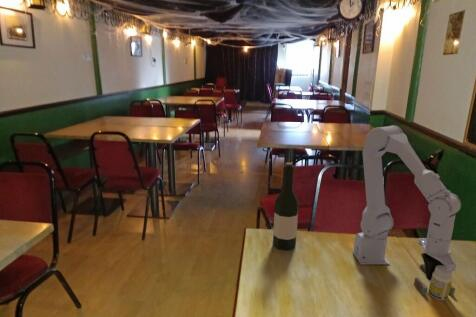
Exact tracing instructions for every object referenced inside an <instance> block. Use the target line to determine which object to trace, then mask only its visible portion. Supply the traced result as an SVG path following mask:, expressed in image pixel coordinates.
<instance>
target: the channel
mask: <svg viewBox="0 0 476 317" xmlns="http://www.w3.org/2000/svg"><path fill="white" fill-rule="evenodd" d="M413 285H414V287H415V288H416V289H417V290H418V291H419V293H420V294H421V295H422V296H424V297H425V296H427V293H428V290H429V289H428V288H429V287H427V285H425V283H424V282H423V281H422V280H421V279H420V278H419V277H414V282H413ZM455 292H456V287H455V286H454V285H453V284H451V288H450V292H449V295H450V296H452V297H453V296H455Z"/></svg>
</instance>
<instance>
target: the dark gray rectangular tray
mask: <svg viewBox="0 0 476 317" xmlns="http://www.w3.org/2000/svg"><path fill="white" fill-rule="evenodd" d="M419 269H420V270H421V271H423V273H424V274H426V270H425V264H424V263H422V264H420V265H419Z"/></svg>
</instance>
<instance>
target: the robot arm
mask: <svg viewBox="0 0 476 317" xmlns="http://www.w3.org/2000/svg"><path fill="white" fill-rule="evenodd" d="M386 152H388V153H392V154H396V155H398V157H399V158H400V159H401V161H402V162H403V163H404V164H405V166H406V167H407V168H408V169H409V170H410V171H411V174H413V176H414V180H413V182H414V184H415V186H416V187H417V189H419V191H420V192H421V194H422V195H423V196H424V198H425V199H426V201H427V202H428V203H429V204H428V205H427V206H428V207H427V209H428V211H429V213H430V218H429V222H428V223H429V224H428V229H427V234H426V235H427V236H426V237H425V238H424V237H423V238H422V237H418V243H417V244H418V245H419V246H422V247H421V248H422V249H423V252H421V255H420V256H421V257H422V260H423V264H425V270H426V273H425V277H426V279H427V280H428V281H430V282H431V278H432V274H433V272H434V271H435V268H436V266H437V265H443V266H445V267H446V270H447V271H452V272H455V271H456V269H457V268H456V267H457V264H456V263H455V261H454V260H453V258H452V256H451V255H452V253H453V252H452V250H450V245H451V240H452V235H453V230H454V226H455V219H456V213H458V212H459V211H460V210H461V207H462V202H461V200H460V198H459V196H458V194H455V193H452V192H451V190H449V189H447V187H446V186H445V185H444V184H443V182H442V181H441V179H440V178H441V176H440V175H439V174H438V173H435V171H433V170H429V169H427V168H426V167H425V165H424V164H423V162H422V161H421V159H420V158H419V156H418V155H417V153H416V151H415V150H414V148H413V147H412V145H411V144H410V142H409V139H408V136H407V135H406V134H405V132H403V130H402V128H400V126H398V125H395V124H394V125H393V124H391V125H389V126H380V127H379V126H378V127H374V128H372V129H371V130H370V131H368V132H367V133H366V135H365V142H364V146H363V149H362V160H363V161H362V163H363V173H364V174H363V175H364V184H365V197H366V198H365V199H366V207H365V208H364V210H363V211H362V213H361V215H362V216H361V221H360V229H361V231H362V232H358V233H356V234H355V236H354V243H353V250H352V253H353V255H354V257H355V258H356V260H357V261H358V263H359V264H360V265H390V262H389V261H388V259H387V258H386V257H385V256H386V250H387V243H388V236H389V232H390V231H389V230H392V228H393V227H394V224H395V223H394V219H393V217H392V214H391V209H390V208H389V207H388V206H387V204H386V198H385V187H384V175H383V174H384V173H383V172H384V171H383V160H382V157H383V155H385V153H386Z"/></svg>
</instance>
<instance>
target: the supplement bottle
mask: <svg viewBox="0 0 476 317" xmlns="http://www.w3.org/2000/svg"><path fill="white" fill-rule="evenodd" d="M452 276H453V271H447V270H446V267H445V266H443V265H437V266H436V268H435V271H434V272H433V274H432V278H431V281H430V284H429V287H428V288H429V289H428V293H429V295H430V296H431V297H432V298H434V299H435V300H438V301H446V300H448V298H449V295H450V294H449V292H450V288H451V284H452V283H453V277H452ZM452 285H453V284H452Z"/></svg>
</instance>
